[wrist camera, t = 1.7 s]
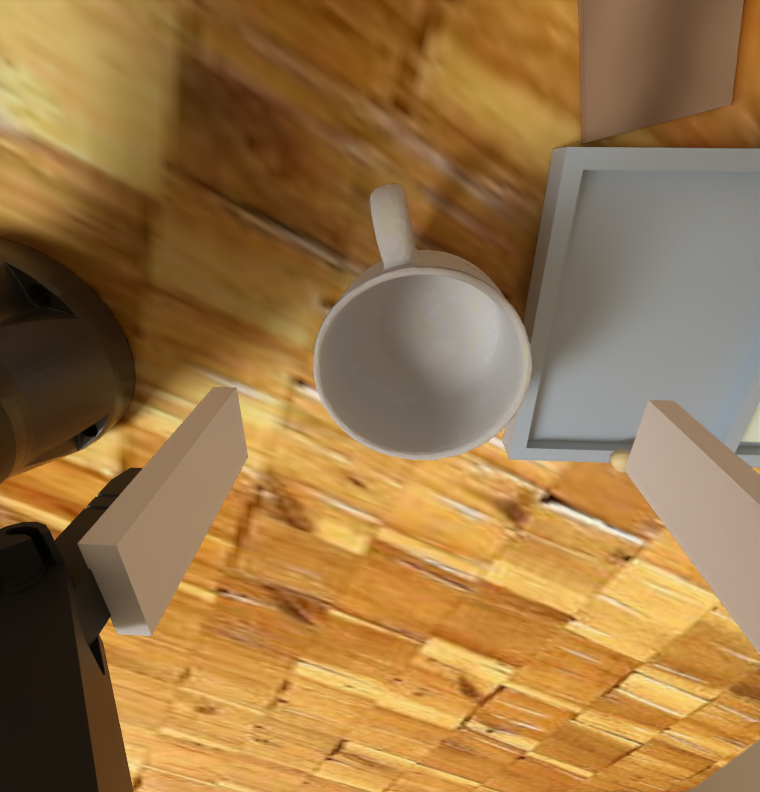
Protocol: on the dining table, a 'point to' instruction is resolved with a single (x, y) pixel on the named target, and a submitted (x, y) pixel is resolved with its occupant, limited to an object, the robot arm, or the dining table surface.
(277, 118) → the dining table surface
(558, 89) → the dining table surface
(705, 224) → the grey divided tray
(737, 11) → the walnut coaster
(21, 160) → the dining table surface
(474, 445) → the teacup
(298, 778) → the dining table surface
